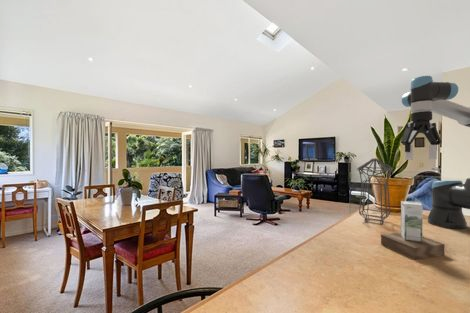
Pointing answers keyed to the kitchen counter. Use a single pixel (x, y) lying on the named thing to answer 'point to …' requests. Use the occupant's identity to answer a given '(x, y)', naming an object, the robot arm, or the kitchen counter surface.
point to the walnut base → (412, 246)
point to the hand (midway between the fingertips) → (421, 159)
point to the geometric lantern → (374, 184)
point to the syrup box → (411, 221)
